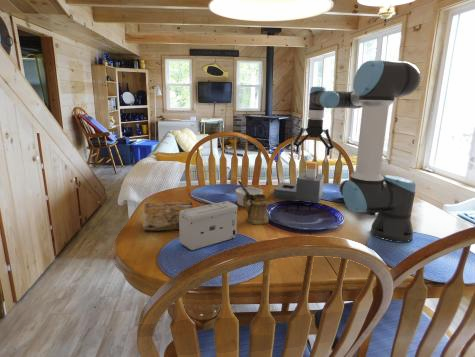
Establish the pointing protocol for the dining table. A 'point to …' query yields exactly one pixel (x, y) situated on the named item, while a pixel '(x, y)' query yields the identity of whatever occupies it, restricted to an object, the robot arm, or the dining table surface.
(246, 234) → the dining table surface
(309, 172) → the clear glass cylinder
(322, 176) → the dock
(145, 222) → the petrified wood
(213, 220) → the stereo radio cassette player
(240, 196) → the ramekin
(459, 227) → the dining table surface
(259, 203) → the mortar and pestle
